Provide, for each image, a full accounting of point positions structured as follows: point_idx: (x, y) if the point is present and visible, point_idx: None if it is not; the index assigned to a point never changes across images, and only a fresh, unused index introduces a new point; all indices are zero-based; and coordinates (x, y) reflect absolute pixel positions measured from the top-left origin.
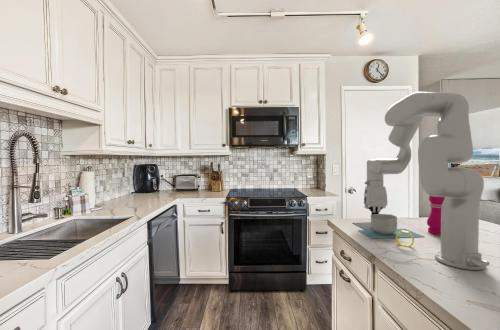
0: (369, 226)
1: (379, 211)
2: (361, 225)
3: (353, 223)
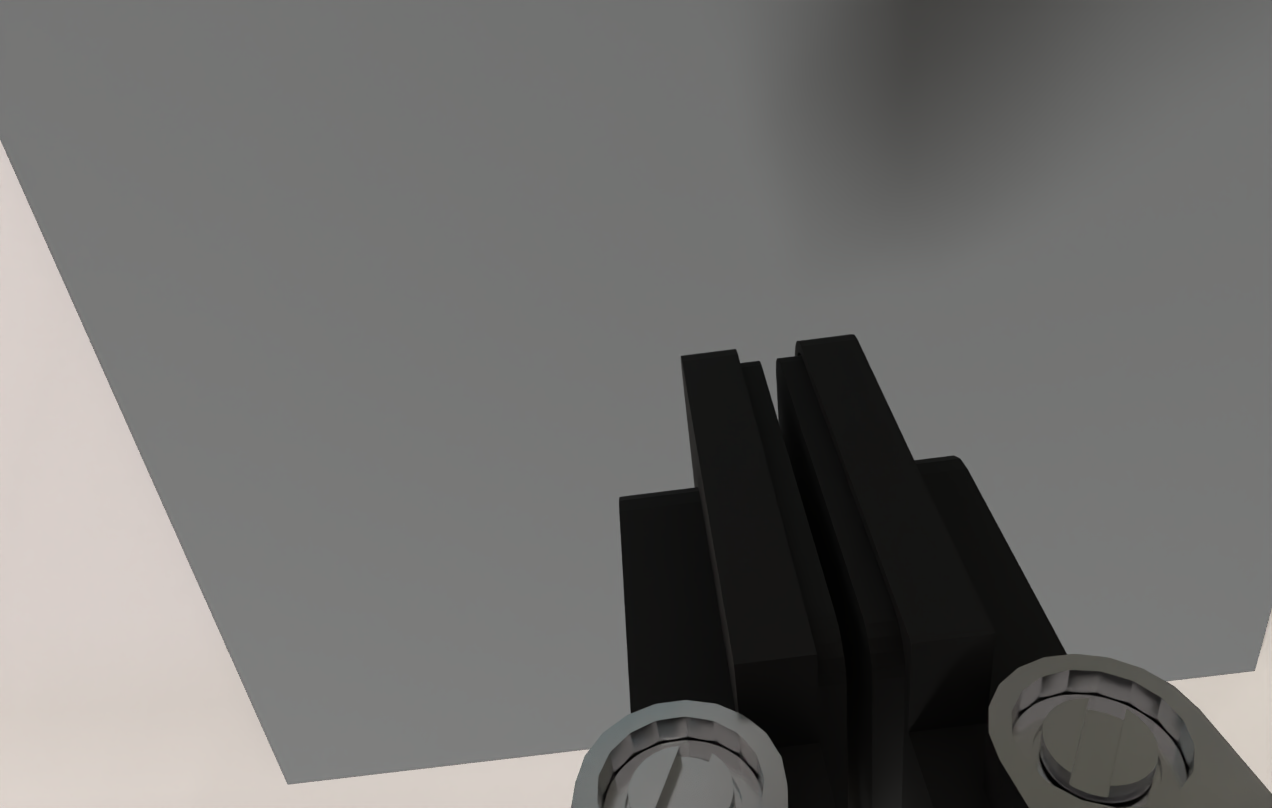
0: (965, 293)
1: (629, 782)
2: (1179, 407)
3: (1265, 618)
